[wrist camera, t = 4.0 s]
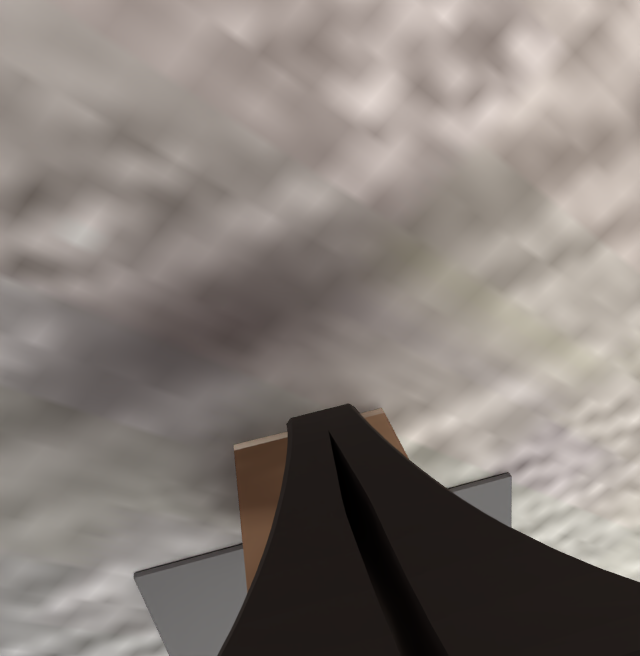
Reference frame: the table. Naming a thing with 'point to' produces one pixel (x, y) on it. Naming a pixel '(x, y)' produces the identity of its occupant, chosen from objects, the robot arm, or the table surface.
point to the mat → (230, 582)
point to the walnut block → (273, 485)
